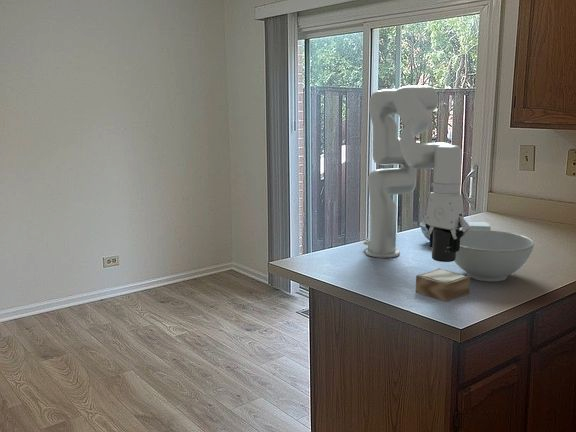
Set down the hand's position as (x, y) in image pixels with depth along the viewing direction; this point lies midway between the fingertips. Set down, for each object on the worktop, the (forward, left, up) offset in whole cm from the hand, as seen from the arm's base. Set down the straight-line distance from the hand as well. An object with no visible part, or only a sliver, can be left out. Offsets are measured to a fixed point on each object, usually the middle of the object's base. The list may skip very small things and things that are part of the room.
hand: (444, 248), depth 167 cm
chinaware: (-37, +46, -14) cm, 61 cm away
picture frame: (0, 0, -13) cm, 13 cm away
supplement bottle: (0, 0, -3) cm, 3 cm away
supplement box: (-15, +39, -14) cm, 44 cm away
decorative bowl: (-1, +24, -14) cm, 28 cm away
